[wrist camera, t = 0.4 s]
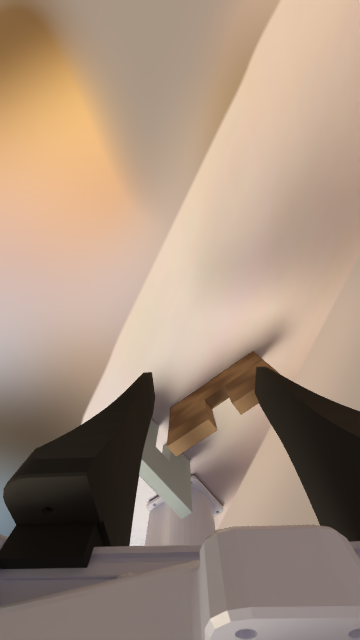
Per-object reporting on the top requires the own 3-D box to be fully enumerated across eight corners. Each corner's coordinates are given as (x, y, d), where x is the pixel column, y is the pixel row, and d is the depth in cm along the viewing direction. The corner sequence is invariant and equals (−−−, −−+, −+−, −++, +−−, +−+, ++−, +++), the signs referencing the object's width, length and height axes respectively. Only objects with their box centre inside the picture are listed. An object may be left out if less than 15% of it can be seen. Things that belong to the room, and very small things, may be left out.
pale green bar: (181, 466, 26) (181, 519, 20) (130, 410, 24) (113, 449, 18) (189, 461, 26) (192, 512, 20) (138, 404, 24) (125, 441, 18)
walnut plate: (177, 416, 24) (176, 456, 18) (170, 408, 24) (166, 446, 18) (259, 360, 23) (287, 384, 17) (253, 351, 22) (278, 372, 17)
